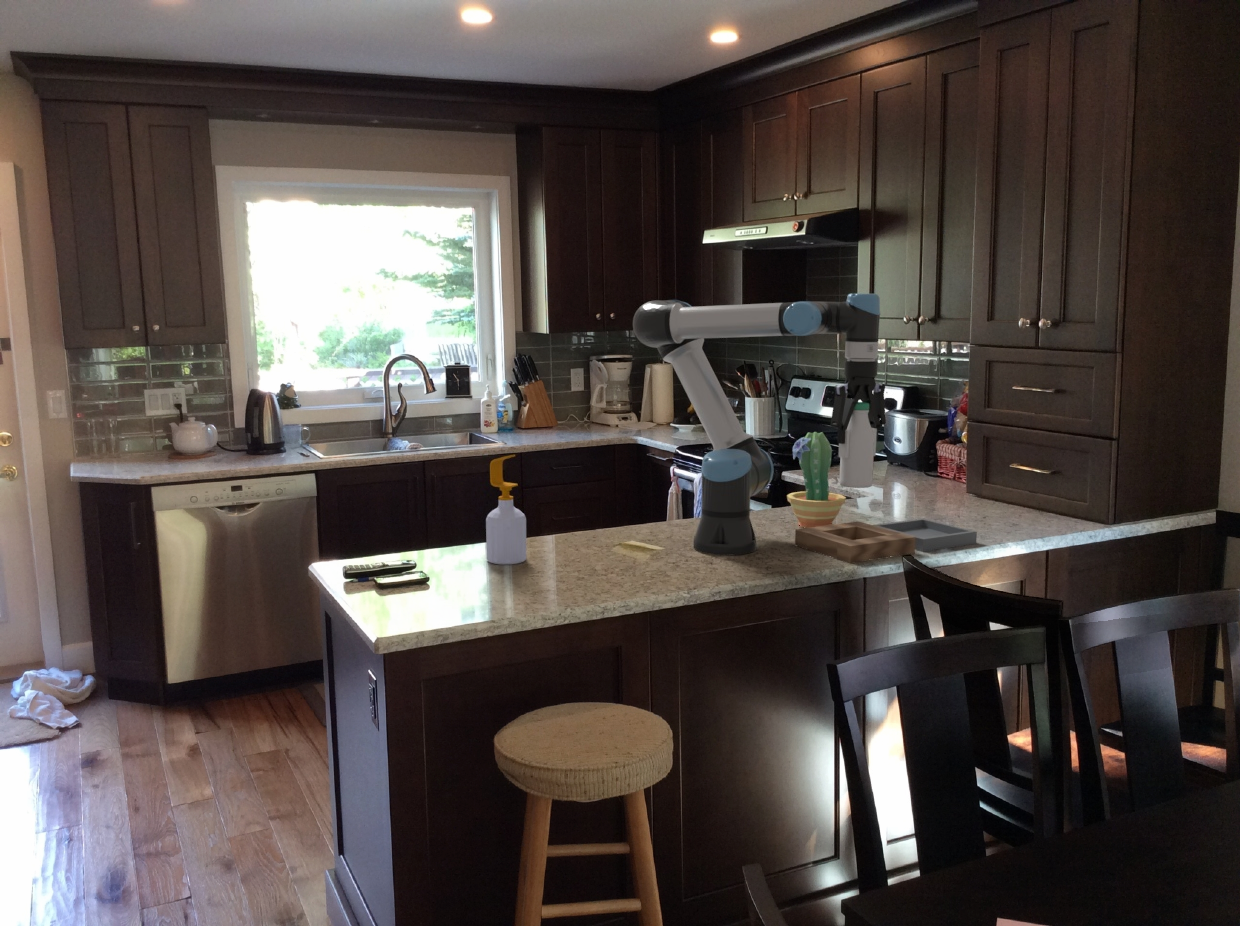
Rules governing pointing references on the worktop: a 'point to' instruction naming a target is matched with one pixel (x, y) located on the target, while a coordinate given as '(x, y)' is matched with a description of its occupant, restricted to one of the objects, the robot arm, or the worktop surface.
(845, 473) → the milk bottle
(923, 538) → the tray
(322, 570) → the worktop surface
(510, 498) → the soap bottle
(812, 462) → the potted cactus
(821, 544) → the block
